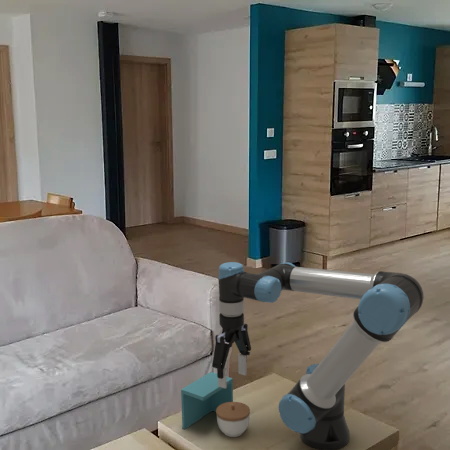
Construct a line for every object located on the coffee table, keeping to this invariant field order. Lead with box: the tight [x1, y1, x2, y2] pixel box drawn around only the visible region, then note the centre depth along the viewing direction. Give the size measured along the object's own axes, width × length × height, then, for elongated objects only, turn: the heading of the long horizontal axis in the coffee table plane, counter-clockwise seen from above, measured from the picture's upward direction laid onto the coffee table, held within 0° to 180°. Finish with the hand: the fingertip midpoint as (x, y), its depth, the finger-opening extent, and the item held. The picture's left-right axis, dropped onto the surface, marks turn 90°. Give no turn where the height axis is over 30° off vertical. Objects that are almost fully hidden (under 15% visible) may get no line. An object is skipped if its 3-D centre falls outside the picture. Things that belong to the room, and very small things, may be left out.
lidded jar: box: [215, 401, 251, 438], centre depth 189 cm, size 11×11×9 cm
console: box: [180, 371, 234, 430], centre depth 194 cm, size 9×16×14 cm, turn 144°
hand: (232, 380), depth 186 cm, fingers open, 10 cm apart
